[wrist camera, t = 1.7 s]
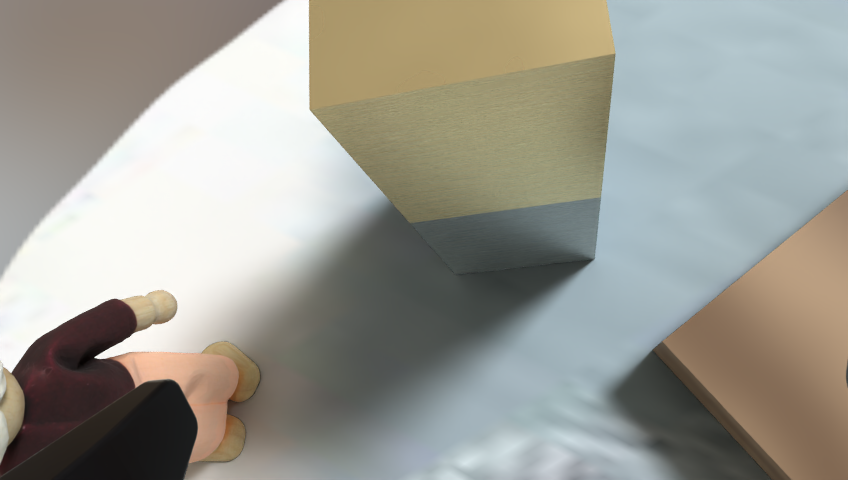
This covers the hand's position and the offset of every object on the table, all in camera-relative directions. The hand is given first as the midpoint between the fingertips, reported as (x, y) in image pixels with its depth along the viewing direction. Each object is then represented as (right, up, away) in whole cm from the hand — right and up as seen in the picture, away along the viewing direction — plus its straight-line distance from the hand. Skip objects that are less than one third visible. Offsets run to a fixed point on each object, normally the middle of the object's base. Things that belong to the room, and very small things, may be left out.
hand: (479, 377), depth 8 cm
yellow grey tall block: (+3, +3, +14) cm, 15 cm away
